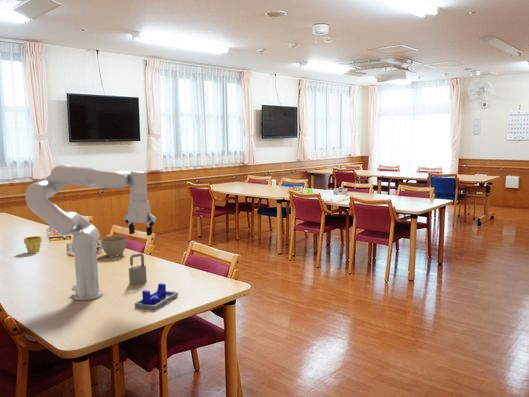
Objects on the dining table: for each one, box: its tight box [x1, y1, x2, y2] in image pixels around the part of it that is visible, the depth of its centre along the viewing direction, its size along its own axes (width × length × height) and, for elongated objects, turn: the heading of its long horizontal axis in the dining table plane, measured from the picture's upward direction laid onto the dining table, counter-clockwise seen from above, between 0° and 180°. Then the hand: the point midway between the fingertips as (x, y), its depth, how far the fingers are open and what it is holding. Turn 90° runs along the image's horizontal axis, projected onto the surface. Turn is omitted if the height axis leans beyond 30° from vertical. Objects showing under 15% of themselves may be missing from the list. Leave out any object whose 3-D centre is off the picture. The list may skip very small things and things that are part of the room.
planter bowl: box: [99, 235, 128, 257], centre depth 283 cm, size 16×16×11 cm
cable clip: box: [141, 282, 167, 305], centre depth 200 cm, size 12×4×6 cm, turn 153°
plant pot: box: [23, 235, 43, 254], centre depth 293 cm, size 10×10×10 cm
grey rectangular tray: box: [134, 290, 179, 312], centre depth 200 cm, size 10×18×2 cm, turn 159°
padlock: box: [128, 252, 148, 286], centre depth 227 cm, size 4×8×15 cm, turn 132°
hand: (140, 234), depth 208 cm, fingers open, 9 cm apart
